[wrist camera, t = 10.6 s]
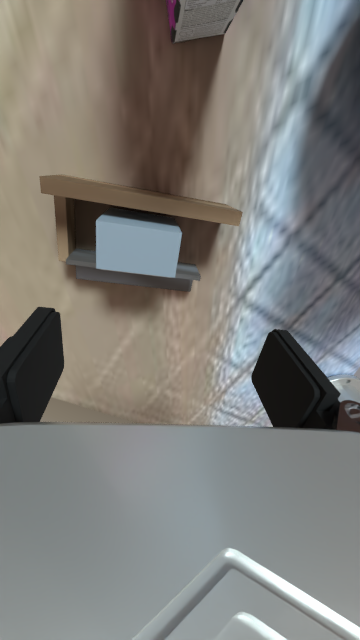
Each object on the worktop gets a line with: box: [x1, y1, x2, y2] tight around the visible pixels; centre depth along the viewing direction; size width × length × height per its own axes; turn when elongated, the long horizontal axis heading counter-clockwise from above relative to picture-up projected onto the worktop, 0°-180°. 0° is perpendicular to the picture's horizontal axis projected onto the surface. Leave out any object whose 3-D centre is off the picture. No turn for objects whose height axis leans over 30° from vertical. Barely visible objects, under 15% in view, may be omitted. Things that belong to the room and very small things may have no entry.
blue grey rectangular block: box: [96, 208, 182, 278], centre depth 25 cm, size 4×7×8 cm, turn 81°
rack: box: [40, 175, 243, 292], centre depth 26 cm, size 11×17×6 cm, turn 80°
